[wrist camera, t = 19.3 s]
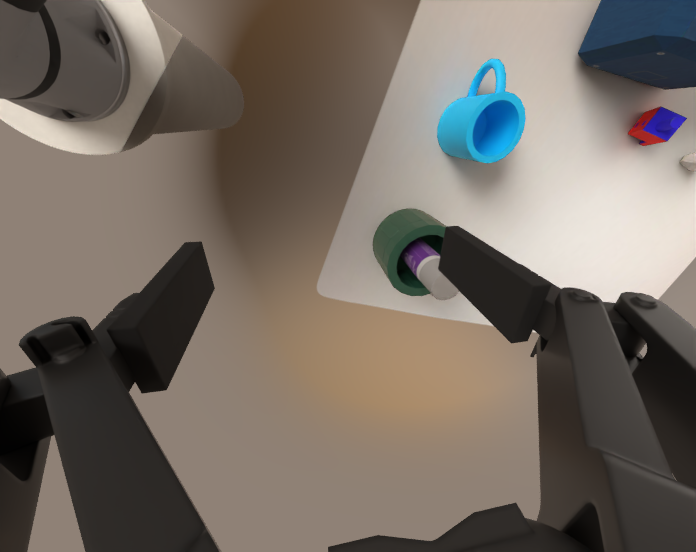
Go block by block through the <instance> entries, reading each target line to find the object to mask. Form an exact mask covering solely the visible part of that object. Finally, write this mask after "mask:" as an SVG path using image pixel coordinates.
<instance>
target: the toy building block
mask: <svg viewBox="0 0 696 552" xmlns="http://www.w3.org/2000/svg"><path fill="white" fill-rule="evenodd" d="M686 119H687V118H686V117H683V116H681V115H679V114H677V113H674V112H672V111H670V110H668V109H665V108H663V107H659V108H656V109H653V110H650V111H647V112H645V113H644V114H643V115H642V116H641V118H640V119H639V120H638V121H637V123H636V124H635V125H634V126H633V128H632V129H631V130H630V132H629V133H628V134H629V135H631V136H633V137H636V138H638V139H640V140H642V141H641V142H640V143H639V144H640V145H642V146H646V145H651V144H656V143H661V142H666V141H668V140H669V139H670V138H671V136H672V135H673V134H674V133H675V132H676V131H677V129H678V128H679V127H680V126H681V125H682V124H683V122H684V121H685V120H686Z"/></svg>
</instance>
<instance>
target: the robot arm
mask: <svg viewBox="0 0 696 552" xmlns="http://www.w3.org/2000/svg"><path fill="white" fill-rule="evenodd" d="M129 84H130V62H129V57H128V52H127V49H126V46H125V42H124V40H123V37H122V35H121V33H120V31H119V29H118V26H117V25H116V23H115V21H114V19H113V17H112V16H111V14H110V13H109V11H108V10H107V8H106V7H105V6H104V4H103V3H102V2H101V0H0V99H5V100H8V101H10V102H12V103H14V104H17V105H19V106H21V107H23V108H26V109H28V110H30V111H32V112H35V113H37V114H39V115H42V116H45V117H48V118H52V119H55V120H61V121H69V122H89V121H96V120H100V119H103V118H105V117H107V116H109V115H111V114H112V113H114V112H115V111H116V110H117V109H118V108H119V107H120V106H121V104H122V103H123V101H124V100H125V98H126V95H127V93H128V89H129ZM438 270H439V271H440V272H441V273H442V274H443V275H444V276H445V277H446V278H447V279H448V280H449V281H450V282H451V283H452V284H453V285H454V286H455V287H456V288H457V289H458V290H459V291H460V292H461V293H462V294H463V295H464V296H465V297H466V298H467V299H468V300H469V301H470V302H471V303H472V304H473V305H474V306H475V307H476V308H477V309H478V310H479V311H480V312H481V313H482V314H483V315H484V316H485V317H486V318H487V319H488V320H489V321H490V322H491V323H492V324H493V325H494V326H495V327H496V328H497V329H498V330H499V331H500V332H501V333H502V334H503V335H504V336H505V337H506V338H507V339H508V341H510V342H511V343H517V342H523V341H528V339H529V336H530V334H531V332H532V330H535V331H536V332H537V333H538V334H539V335H540V336H539V338H538V340H537V342H536V345H535V347H534V349H533V351H532V353H531V357H534V355H535V354H537V382H538V414H539V415H538V418H539V451H540V453H539V454H540V489H541V505H540V511H539V515H538V519H537V521H534V520H531V519H527V518H524V516H523V514H522V512H521V510H520V509H519V507H518V506H517V504H516V503H513V504H508V505H504V506H500V507H496V508H491V509H487V510H483V511H479V512H474V513H473V514H471V515H470V516H468V517H467V518H466V519H464V520H463V521H461V522H460V523H459V524H457V525H456V526H454V527H453V528H452V529H450V530H449V531H447V532H446V533H445V534H443V535H442V536H441V537H439V538H438V539H436V540H433V541H424V540H415V539H406V538H397V537H388V536H380V535H377V536H373V537H369V538H365V539H360V540H356V541H352V542H347V543H343V544H339V545H335V546H330V547H328V552H696V328H695V327H693V326H692V325H691V324H690V323H688V322H687V321H686V320H685V319H683V318H682V317H681V316H680V315H678V314H677V313H676V312H675V311H673V310H672V309H671V308H670V307H668V306H667V305H666V304H664V303H663V302H661V301H659V300H657V299H655V298H654V297H652V296H649V295H646V294H642V293H640V294H639V293H633V292H625V293H621V295H620V297H619V299H618V300H617V302H616V303H609V302H602V300H601V299H600V298H599V297H597V296H596V295H594V294H592V293H590V292H587V291H584V290H581V289H577V288H562V289H560V288H559V287H557V286H555V285H554V284H552V283H551V282H549V281H547V280H546V279H544V278H542V277H541V276H538V274H536V273H534V272H533V271H532V272H531V270H530V269H528V268H526V267H525V266H523V265H521V264H518V263H517V262H515V261H513V260H512V259H510V258H509V257H507V256H505V255H504V254H502V253H501V252H499V251H497V250H496V249H494V248H493V247H491V246H489V245H488V244H486V243H485V242H483V241H481V240H480V239H478V238H477V237H475V236H473V235H472V234H470V233H469V232H467V231H465V230H464V229H462V228H461V227H459V226H449V227H446V228H445V233H444V239H443V244H442V250H441V255H440V261H439V266H438ZM214 289H215V288H214V284H213V281H212V277H211V273H210V270H209V266H208V263H207V259H206V256H205V252H204V249H203V245H202V242H186V243H184V244H183V245H182V247H181V248H180V249H179V250H178V251H177V252H176V253H175V254H174V255H173V256H172V258H171V259H170V260H169V261H168V262H167V263H166V264H165V265H164V266H163V268H162V269H161V270H160V271H159V272H158V273H157V274H156V275H155V276H154V278H153V279H152V280H151V281H150V282H149V283H148V284H147V285H146V286H145V288H144V289H143V290H142V291H141V292H140V293H133V294H132V295H130V296H128V297H127V298H125V299H124V300H122V301H121V302H120V303H119V304H118V305H117V306H116V307H115V308H114V309H113V311H111V312H110V313H109V314H108V315H107V316H106V318H105V319H103V320H102V321H101V322H100V323H99V324H98V326H96V327H95V328H94V329H93V331H92V330H91V328H90V326H89V325H88V323H87V322H86V320H85V319H84V318H82V317H67V318H61V319H58V320H54V321H51V322H48V323H46V324H44V325H41V326H39V327H37V328H35V329H34V330H32V331H30V332H29V333H27V334H26V335H25V336H24V337H23V338H22V339H21V340H20V343H19V346H20V347H21V348H22V350H23V351H24V352H25V353H26V355H27V356H28V357H29V359H30V360H31V361H32V362H33V363H34V365H35V366H36V368H32V369H29V370H26V371H22V372H19V373H15V374H12V375H8V376H6V375H5V374H4V373H3V371H2V370H1V369H0V552H27V550H28V544H29V540H30V535H31V530H32V526H33V521H34V516H35V511H36V507H37V502H38V497H39V492H40V487H41V483H42V477H43V473H44V468H45V463H46V458H47V454H48V449H49V444H50V439H51V436H52V435H55V438H56V442H57V446H58V449H59V453H60V457H61V461H62V465H63V469H64V472H65V476H66V479H67V483H68V487H69V491H70V495H71V499H72V503H73V506H74V510H75V513H76V518H77V521H78V525H79V529H80V533H81V537H82V540H83V544H84V548H85V551H86V552H221V550H220V549H219V547H218V545H217V543H216V542H215V540H214V538H213V537H212V535H211V533H210V531H209V530H208V528H207V526H206V525H205V523H204V521H203V519H202V518H201V516H200V514H199V512H198V511H197V509H196V507H195V506H194V504H193V502H192V500H191V499H190V497H189V496H188V494H187V492H186V490H185V488H184V487H183V485H182V483H181V481H180V480H179V478H178V476H177V475H176V473H175V471H174V469H173V468H172V466H171V464H170V463H169V461H168V459H167V457H166V456H165V454H164V452H163V450H162V449H161V447H160V445H159V444H158V442H157V440H156V438H155V437H154V435H153V433H152V432H151V430H150V428H149V426H148V425H147V423H146V421H145V420H144V418H143V416H142V414H141V413H140V411H139V409H138V407H137V406H136V404H135V402H134V401H133V399H132V397H131V395H130V394H129V391H130V389H131V388H132V385H133V384H134V382H136V384H137V386H138V388H139V389H140V391H141V393H148V392H156V391H163V390H167V388H168V386H169V384H170V382H171V380H172V377H173V375H174V373H175V371H176V369H177V367H178V365H179V363H180V361H181V359H182V356H183V354H184V352H185V350H186V348H187V346H188V344H189V341H190V339H191V337H192V335H193V333H194V331H195V329H196V327H197V325H198V322H199V320H200V318H201V316H202V314H203V312H204V310H205V308H206V306H207V304H208V301H209V299H210V297H211V295H212V293H213V291H214ZM646 343H647V353H646V355H645V356H644V358H643V357H642V356H641V354H640V353H639V352H640V351H641V350H642V348H643V347H644V345H645V344H646ZM672 474H673V475H674V477H675V478H676V480H677V481H676V480H675V478H674V477H673V475H672Z"/></svg>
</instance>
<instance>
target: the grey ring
mask: <svg viewBox="0 0 696 552" xmlns="http://www.w3.org/2000/svg"><path fill="white" fill-rule="evenodd" d="M680 164H681V165H683V166H684V167H686V168H687V169H688V170H690V171H696V153H692V154H688V155H686V156H684V158H683V159H682V160H681V161H680Z"/></svg>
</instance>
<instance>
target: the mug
mask: <svg viewBox="0 0 696 552" xmlns="http://www.w3.org/2000/svg"><path fill="white" fill-rule="evenodd" d="M491 68H493V69H494V70H495V75H496V90H495V93H492V94H485V95H478V96H476V94H477V91H478V88H479V86H480V83H481V81H482V79H483V78H484V76H485V74H486V73H487V72H488V71H489V70H490V69H491ZM505 88H506V73H505V68H504V65H503V64H502V62H501V61H500V60H499V59H490V60H488V61H487V62H485V63H484V64H483V65H482V66H481V68H480V69H479V70H478V72H477V74H476V76H475V77H474V79H473V81H472V84H471V87H470V90H469V93H468V97H465V98H460V99H458V100H456V101H454V102H453V103H451V104H450V105H449V106H448V107H447V109H446V110H445V111H444V113H443V115H442V116H441V118H440V121H439V125H438V133H437V138H438V141H439V145H440V147H441V148H442V150H443V151H444V152H445V153H447V154H448V155H449V156H454V157H459V158H464V159H468V160H473V161H478V162H483V163H492V162H497V161H498V160H500V159H502V158H504V157H505V156H507V155H508V154H509V153H510V152H511V151H512V150H513V149H514V147H515V146H516V145H517V143H518V142H519V140H520V138H521V135H522V133H523V130H524V125H525V108H524V106H523V104H522V102H521V100H520V99H519V98H518V97H517V96H516V95H515V94H513V93H509V92H505Z"/></svg>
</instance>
